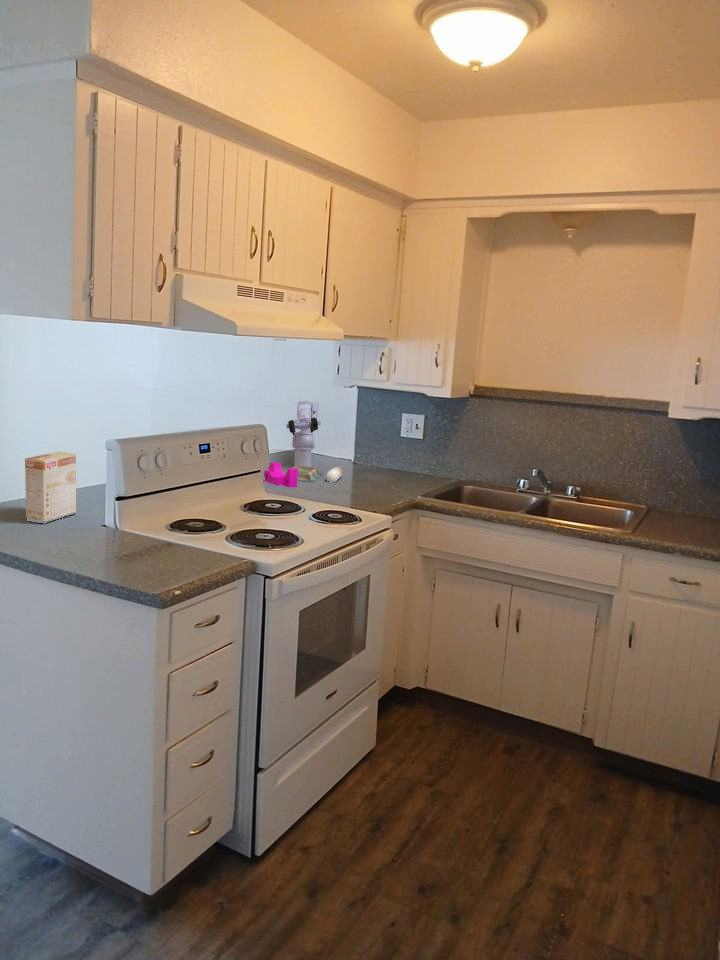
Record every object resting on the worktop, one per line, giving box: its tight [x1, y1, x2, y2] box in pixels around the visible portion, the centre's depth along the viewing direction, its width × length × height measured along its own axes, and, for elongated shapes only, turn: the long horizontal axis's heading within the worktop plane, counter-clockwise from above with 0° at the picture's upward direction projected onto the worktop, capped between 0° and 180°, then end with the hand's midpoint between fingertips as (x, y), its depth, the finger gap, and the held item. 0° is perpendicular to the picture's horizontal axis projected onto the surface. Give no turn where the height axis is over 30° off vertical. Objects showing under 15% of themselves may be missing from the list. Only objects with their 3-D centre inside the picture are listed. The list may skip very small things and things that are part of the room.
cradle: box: [284, 465, 324, 483], centre depth 328 cm, size 20×14×3 cm
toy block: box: [263, 461, 298, 488], centre depth 311 cm, size 15×6×8 cm, turn 39°
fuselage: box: [325, 466, 344, 483], centre depth 326 cm, size 12×5×5 cm, turn 171°
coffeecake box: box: [24, 451, 77, 521], centre depth 235 cm, size 15×7×20 cm, turn 162°
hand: (302, 431), depth 321 cm, fingers open, 7 cm apart
